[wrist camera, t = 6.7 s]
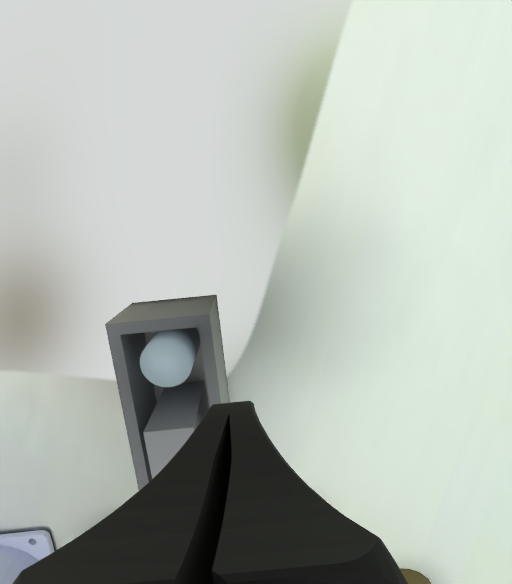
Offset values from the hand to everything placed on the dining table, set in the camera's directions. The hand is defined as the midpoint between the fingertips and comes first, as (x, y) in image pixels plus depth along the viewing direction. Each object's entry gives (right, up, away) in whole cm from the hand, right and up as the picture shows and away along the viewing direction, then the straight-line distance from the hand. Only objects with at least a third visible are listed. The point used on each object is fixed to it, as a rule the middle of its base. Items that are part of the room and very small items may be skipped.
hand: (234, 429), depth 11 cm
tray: (-4, -3, +11) cm, 12 cm away
